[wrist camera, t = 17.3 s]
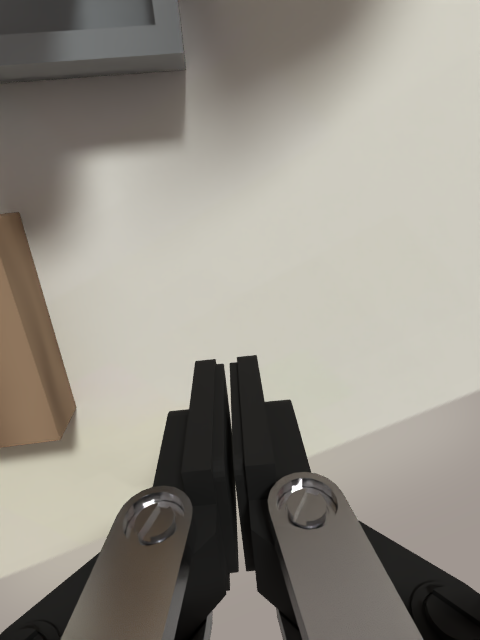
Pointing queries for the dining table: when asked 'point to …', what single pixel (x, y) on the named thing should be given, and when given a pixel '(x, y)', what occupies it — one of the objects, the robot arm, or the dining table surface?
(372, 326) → the dining table surface
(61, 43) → the tray
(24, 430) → the brown wooden brick
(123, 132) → the dining table surface
